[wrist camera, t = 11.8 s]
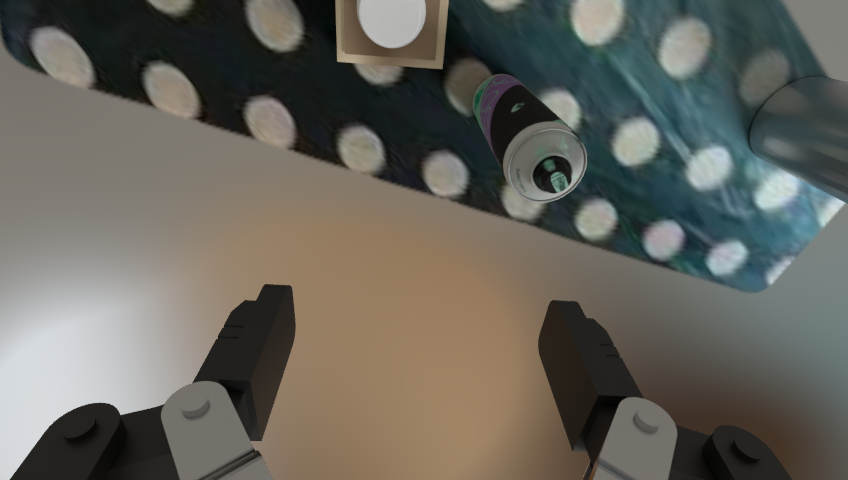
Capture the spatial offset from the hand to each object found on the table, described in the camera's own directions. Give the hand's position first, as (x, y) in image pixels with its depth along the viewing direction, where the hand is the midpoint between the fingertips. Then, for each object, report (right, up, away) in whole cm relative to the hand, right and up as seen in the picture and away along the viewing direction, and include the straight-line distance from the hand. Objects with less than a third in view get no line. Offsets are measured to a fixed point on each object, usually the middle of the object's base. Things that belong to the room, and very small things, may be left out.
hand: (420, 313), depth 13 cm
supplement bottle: (-2, +21, +20) cm, 30 cm away
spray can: (+8, +17, +30) cm, 35 cm away
